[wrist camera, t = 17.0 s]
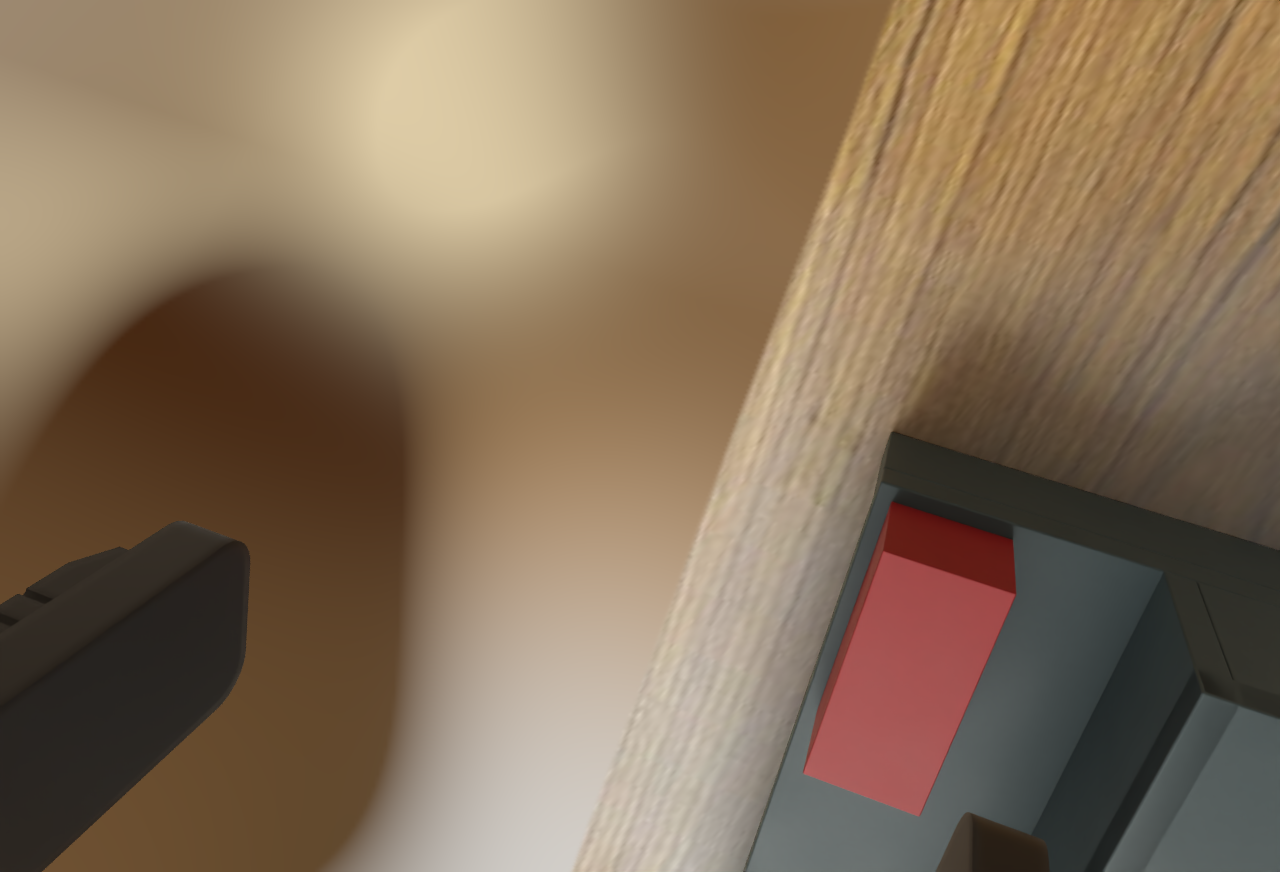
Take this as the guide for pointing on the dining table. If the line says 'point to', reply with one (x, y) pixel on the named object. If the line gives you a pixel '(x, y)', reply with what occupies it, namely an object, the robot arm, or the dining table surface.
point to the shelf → (1072, 692)
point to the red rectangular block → (911, 657)
